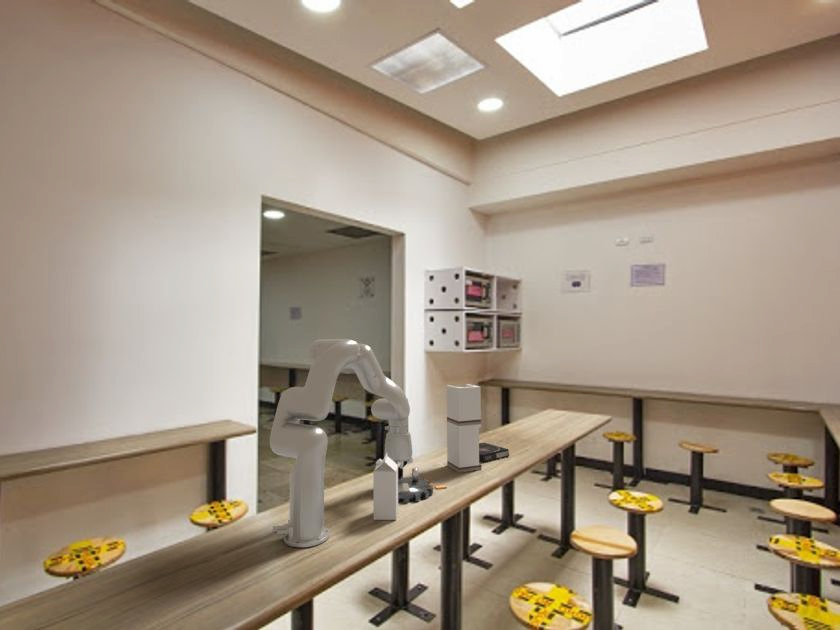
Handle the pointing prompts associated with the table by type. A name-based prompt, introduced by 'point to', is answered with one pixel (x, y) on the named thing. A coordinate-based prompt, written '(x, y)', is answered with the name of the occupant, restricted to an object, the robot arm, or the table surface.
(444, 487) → the block
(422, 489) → the sprocket
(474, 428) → the banded white pillar
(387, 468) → the milk carton
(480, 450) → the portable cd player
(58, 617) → the table surface
